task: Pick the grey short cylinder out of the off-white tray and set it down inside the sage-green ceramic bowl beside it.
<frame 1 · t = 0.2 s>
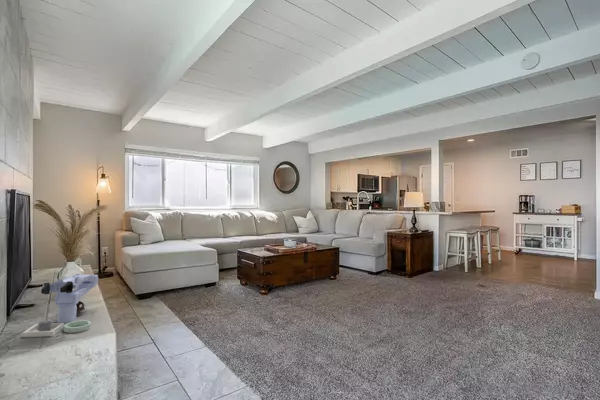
hand: (51, 290, 151), 21 cm above the hearth, tool horizontal, fingers open, 7 cm apart
grey short cylinder: (43, 331, 153), point 1 cm above the hearth, touching parts tray
sage bowl: (77, 330, 159), on the hearth
parts tray: (43, 333, 153), on the hearth
pottery mug: (73, 314, 183), on the hearth
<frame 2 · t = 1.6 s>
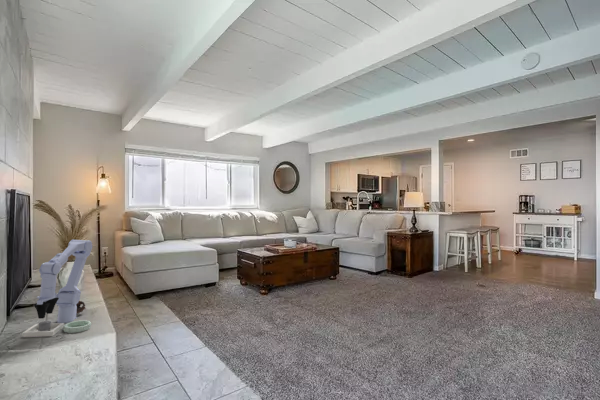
hand: (45, 315, 153), 8 cm above the hearth, tool pointing down, fingers open, 7 cm apart
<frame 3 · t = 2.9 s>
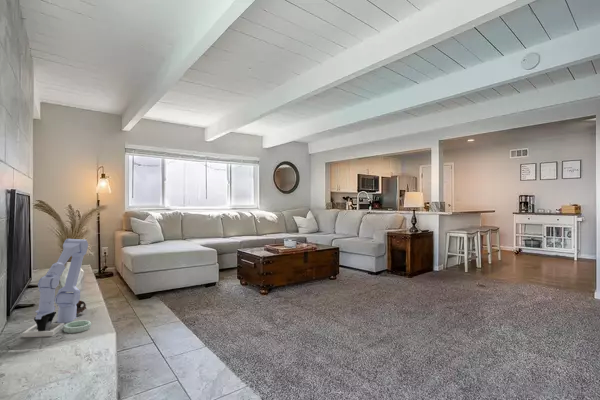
hand: (44, 329, 153), 2 cm above the hearth, tool pointing down, fingers closed on grey short cylinder, 5 cm apart
grey short cylinder: (43, 331, 153), point 1 cm above the hearth, touching gripper, parts tray
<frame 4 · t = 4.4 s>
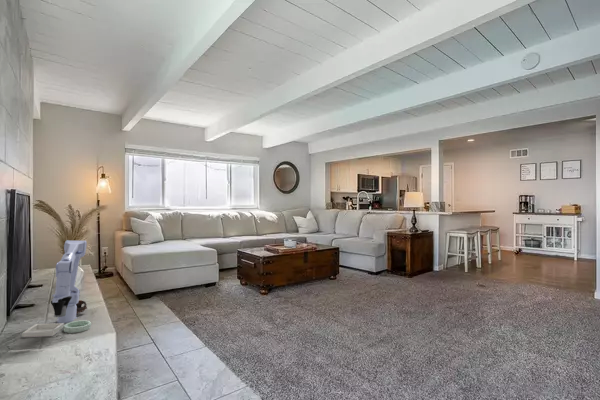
hand: (60, 313, 156), 9 cm above the hearth, tool pointing down, fingers closed on grey short cylinder, 5 cm apart
grey short cylinder: (59, 315, 156), point 8 cm above the hearth, touching gripper
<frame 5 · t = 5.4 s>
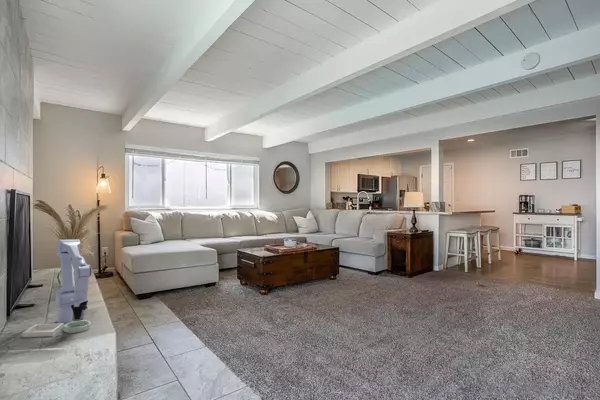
hand: (78, 317, 159), 6 cm above the hearth, tool pointing down, fingers closed on grey short cylinder, 5 cm apart
grey short cylinder: (77, 319, 159), point 5 cm above the hearth, touching gripper
when the fingers open (4 cm above the hearth, at t = 6.3 s): grey short cylinder drops 2 cm, resting on sage bowl.
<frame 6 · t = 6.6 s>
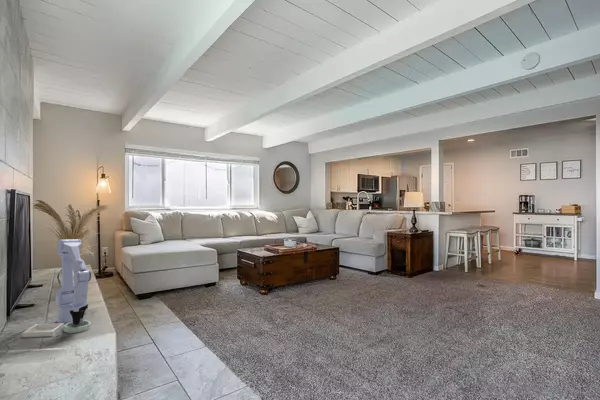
hand: (78, 322, 159), 4 cm above the hearth, tool pointing down, fingers open, 7 cm apart
grey short cylinder: (77, 328, 159), point 1 cm above the hearth, touching sage bowl
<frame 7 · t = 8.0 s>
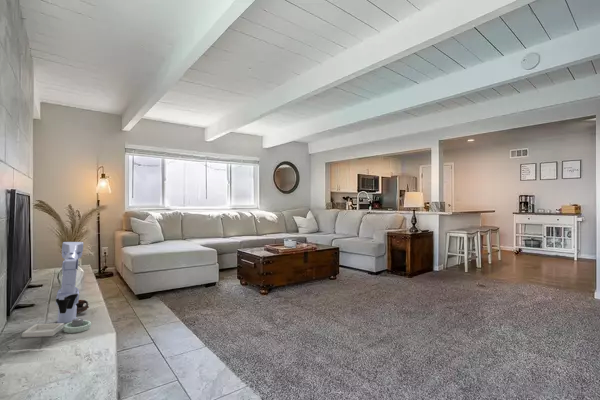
hand: (66, 310, 159), 9 cm above the hearth, tool pointing down, fingers open, 7 cm apart
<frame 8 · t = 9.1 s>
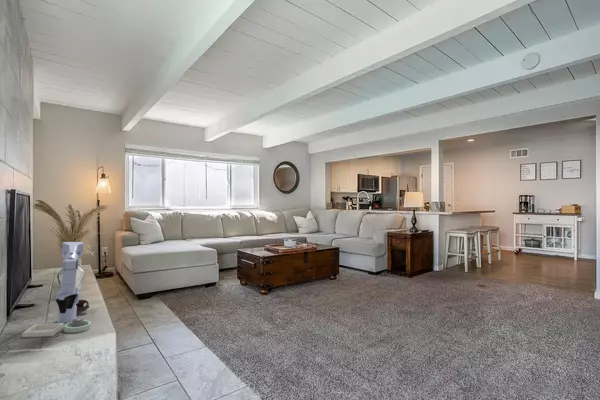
hand: (66, 310, 159), 9 cm above the hearth, tool pointing down, fingers open, 7 cm apart
at the end: grey short cylinder 0.2 cm off-centre on the sage bowl, point 0.8 cm above the sage bowl's base; the gripper is holding nothing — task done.
